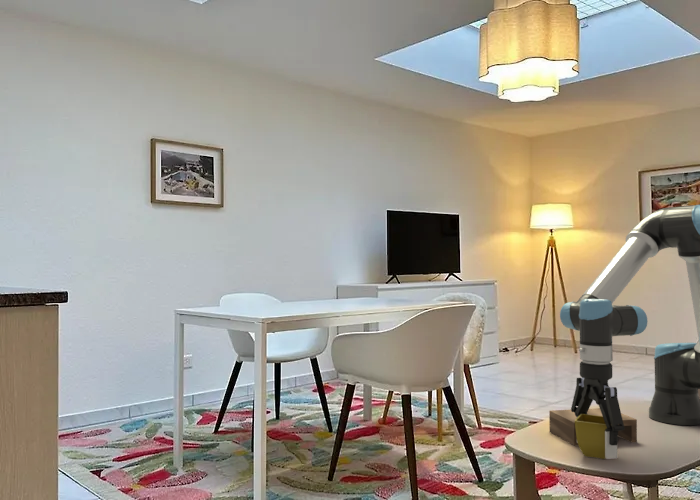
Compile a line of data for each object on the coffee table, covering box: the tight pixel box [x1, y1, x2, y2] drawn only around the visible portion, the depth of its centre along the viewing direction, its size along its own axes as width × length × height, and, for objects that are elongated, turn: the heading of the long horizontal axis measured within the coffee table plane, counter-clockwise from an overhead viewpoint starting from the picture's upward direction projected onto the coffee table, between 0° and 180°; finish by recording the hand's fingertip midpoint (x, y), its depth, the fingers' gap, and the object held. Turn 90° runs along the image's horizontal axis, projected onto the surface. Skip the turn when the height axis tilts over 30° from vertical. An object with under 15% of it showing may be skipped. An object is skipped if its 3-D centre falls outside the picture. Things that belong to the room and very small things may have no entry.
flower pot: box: [575, 414, 607, 460], centre depth 152 cm, size 9×9×9 cm
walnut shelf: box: [548, 407, 638, 447], centre depth 168 cm, size 18×13×6 cm
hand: (596, 450), depth 152 cm, fingers closed on flower pot, 12 cm apart
